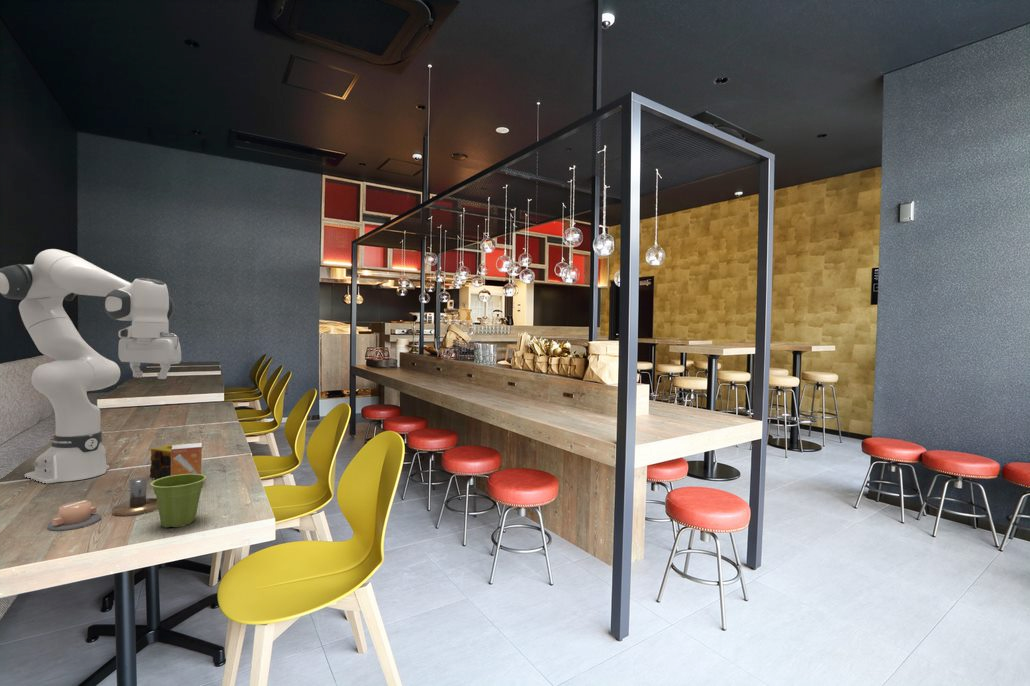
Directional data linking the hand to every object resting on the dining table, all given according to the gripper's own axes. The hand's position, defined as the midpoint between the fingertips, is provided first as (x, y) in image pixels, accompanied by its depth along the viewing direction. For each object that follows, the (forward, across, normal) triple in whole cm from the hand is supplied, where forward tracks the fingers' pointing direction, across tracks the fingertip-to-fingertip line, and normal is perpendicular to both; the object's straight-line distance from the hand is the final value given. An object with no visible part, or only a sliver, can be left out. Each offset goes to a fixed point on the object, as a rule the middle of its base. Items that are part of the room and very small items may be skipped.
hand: (149, 378), depth 143 cm
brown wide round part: (+35, -9, +10) cm, 38 cm away
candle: (+35, +9, -16) cm, 40 cm away
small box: (+35, -4, -9) cm, 37 cm away
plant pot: (+35, -28, +14) cm, 47 cm away
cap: (+34, -4, +22) cm, 41 cm away
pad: (+35, -4, +22) cm, 42 cm away
